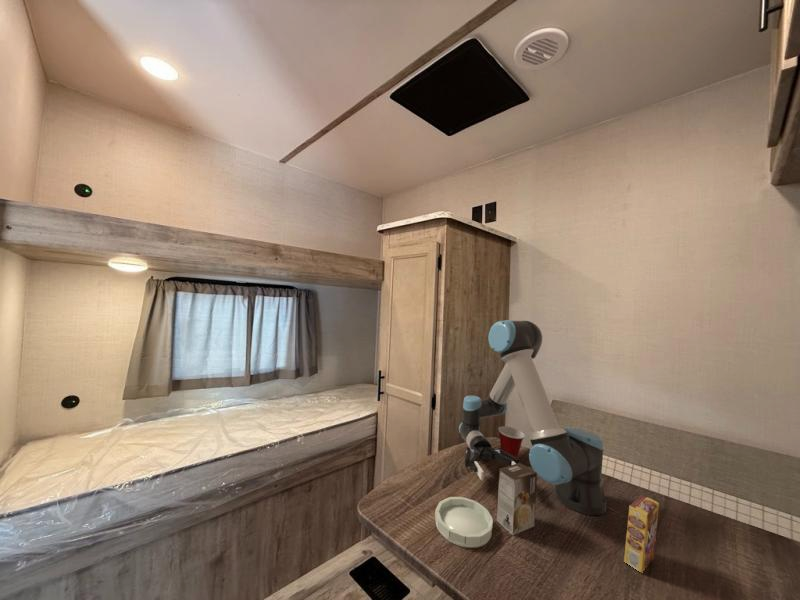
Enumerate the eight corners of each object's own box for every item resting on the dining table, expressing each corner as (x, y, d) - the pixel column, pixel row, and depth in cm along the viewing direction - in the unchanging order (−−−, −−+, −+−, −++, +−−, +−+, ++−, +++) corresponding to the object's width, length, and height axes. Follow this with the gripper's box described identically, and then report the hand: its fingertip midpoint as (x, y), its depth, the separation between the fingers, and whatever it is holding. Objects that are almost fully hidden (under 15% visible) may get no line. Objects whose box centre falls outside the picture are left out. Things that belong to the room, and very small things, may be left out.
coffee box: (517, 512, 95) (520, 461, 95) (535, 526, 89) (538, 472, 89) (495, 521, 91) (499, 467, 91) (512, 536, 85) (516, 479, 85)
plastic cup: (527, 467, 122) (529, 437, 122) (500, 465, 122) (502, 435, 122) (517, 453, 133) (519, 426, 133) (493, 451, 133) (494, 424, 133)
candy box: (643, 576, 75) (647, 514, 74) (623, 563, 78) (626, 504, 78) (656, 560, 80) (659, 502, 80) (636, 548, 83) (639, 493, 83)
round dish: (479, 505, 97) (479, 496, 97) (501, 546, 81) (502, 535, 81) (430, 506, 95) (431, 497, 95) (443, 548, 79) (443, 537, 79)
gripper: (507, 453, 122) (537, 486, 101) (447, 453, 119) (464, 487, 98) (509, 435, 122) (538, 464, 101) (448, 434, 119) (466, 464, 98)
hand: (502, 476), depth 100 cm, fingers open, 13 cm apart
